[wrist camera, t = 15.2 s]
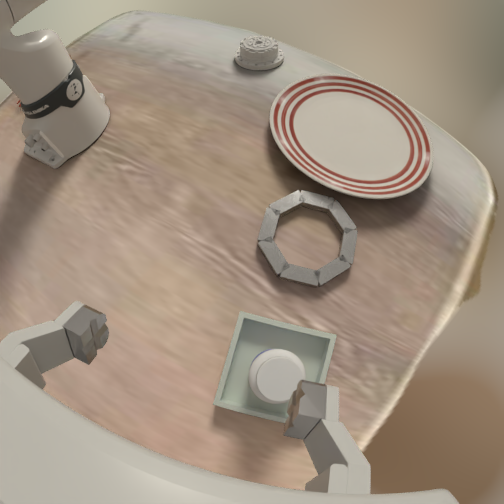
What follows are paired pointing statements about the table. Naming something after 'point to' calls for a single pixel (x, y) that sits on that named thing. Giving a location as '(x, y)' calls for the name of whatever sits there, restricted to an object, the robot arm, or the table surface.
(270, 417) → the bin
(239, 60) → the mechanical component
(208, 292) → the table surface
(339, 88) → the dinner plate
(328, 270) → the collar
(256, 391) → the pill bottle
